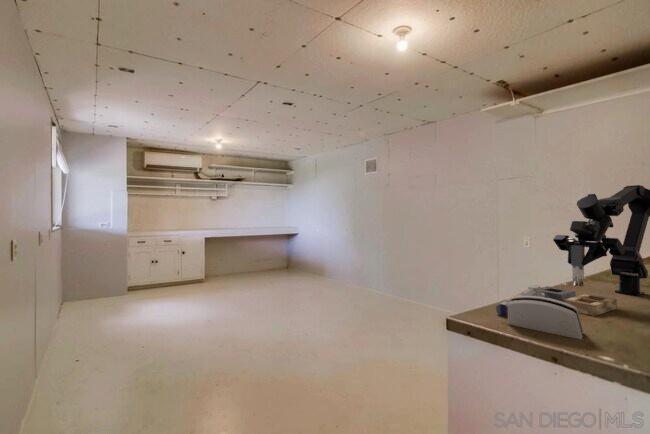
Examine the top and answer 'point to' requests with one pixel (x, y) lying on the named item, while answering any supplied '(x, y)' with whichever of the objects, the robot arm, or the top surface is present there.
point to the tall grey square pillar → (577, 264)
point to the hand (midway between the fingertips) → (575, 264)
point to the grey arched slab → (545, 315)
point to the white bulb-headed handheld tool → (531, 291)
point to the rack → (592, 304)
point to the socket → (557, 293)
